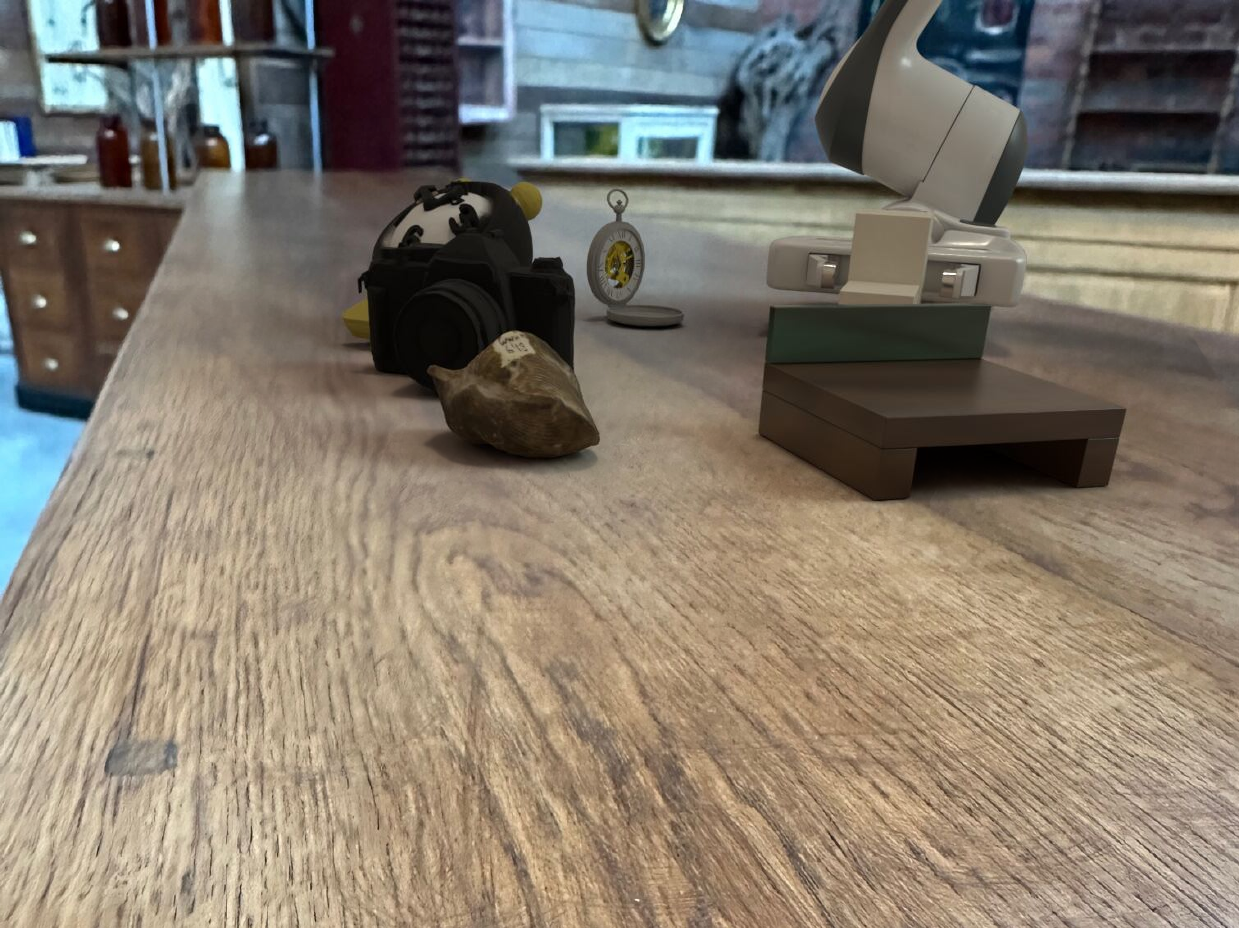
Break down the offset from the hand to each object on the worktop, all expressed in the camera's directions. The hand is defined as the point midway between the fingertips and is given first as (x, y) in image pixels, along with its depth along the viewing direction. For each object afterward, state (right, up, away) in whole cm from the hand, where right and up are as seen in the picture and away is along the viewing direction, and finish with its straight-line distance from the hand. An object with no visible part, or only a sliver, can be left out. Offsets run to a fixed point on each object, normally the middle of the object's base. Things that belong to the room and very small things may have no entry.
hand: (887, 280), depth 92 cm
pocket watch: (-19, +2, +13) cm, 23 cm away
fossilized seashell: (-26, -21, -26) cm, 42 cm away
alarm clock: (-34, -3, +3) cm, 34 cm away
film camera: (-31, -12, -12) cm, 35 cm away
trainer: (-1, -6, 0) cm, 6 cm away
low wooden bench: (-3, -21, -24) cm, 32 cm away
